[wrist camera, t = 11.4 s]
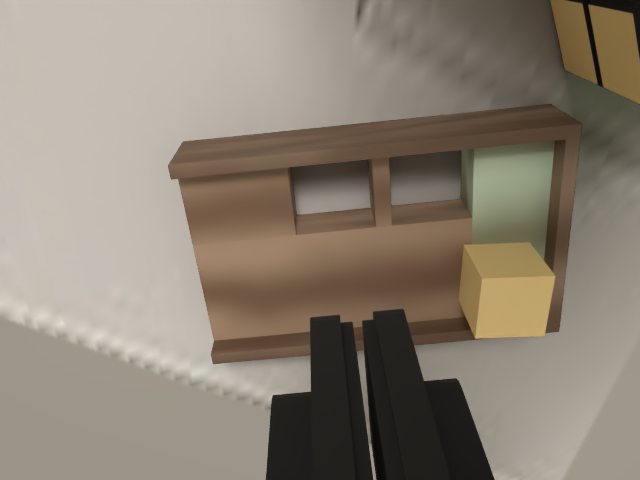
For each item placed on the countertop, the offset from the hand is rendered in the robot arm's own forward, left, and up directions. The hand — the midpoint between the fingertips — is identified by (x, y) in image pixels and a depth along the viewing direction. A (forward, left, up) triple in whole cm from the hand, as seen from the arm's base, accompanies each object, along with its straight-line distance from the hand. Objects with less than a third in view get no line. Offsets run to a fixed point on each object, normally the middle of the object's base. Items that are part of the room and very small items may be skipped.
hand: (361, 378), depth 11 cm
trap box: (+10, +2, -27) cm, 29 cm away
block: (+13, +10, -24) cm, 29 cm away
